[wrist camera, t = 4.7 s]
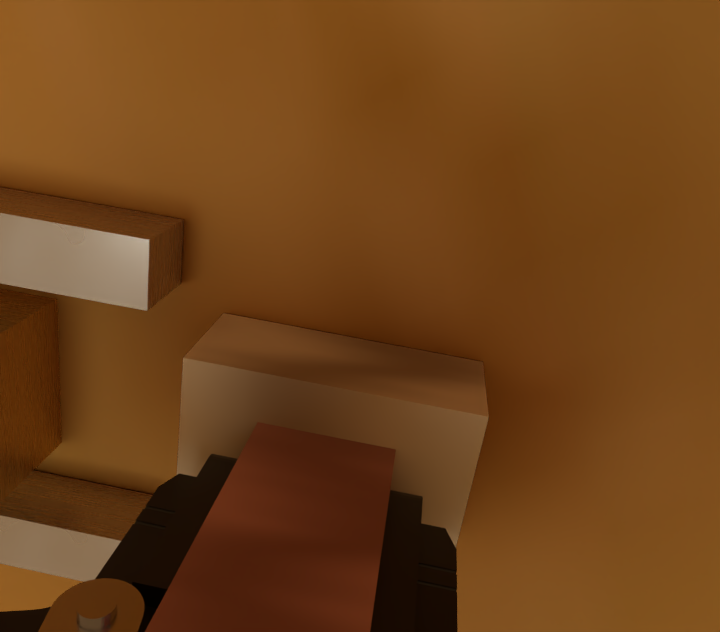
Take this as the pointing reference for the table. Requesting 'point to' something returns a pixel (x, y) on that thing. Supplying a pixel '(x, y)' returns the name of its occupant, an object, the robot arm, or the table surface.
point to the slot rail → (91, 282)
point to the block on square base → (313, 470)
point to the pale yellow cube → (27, 385)
